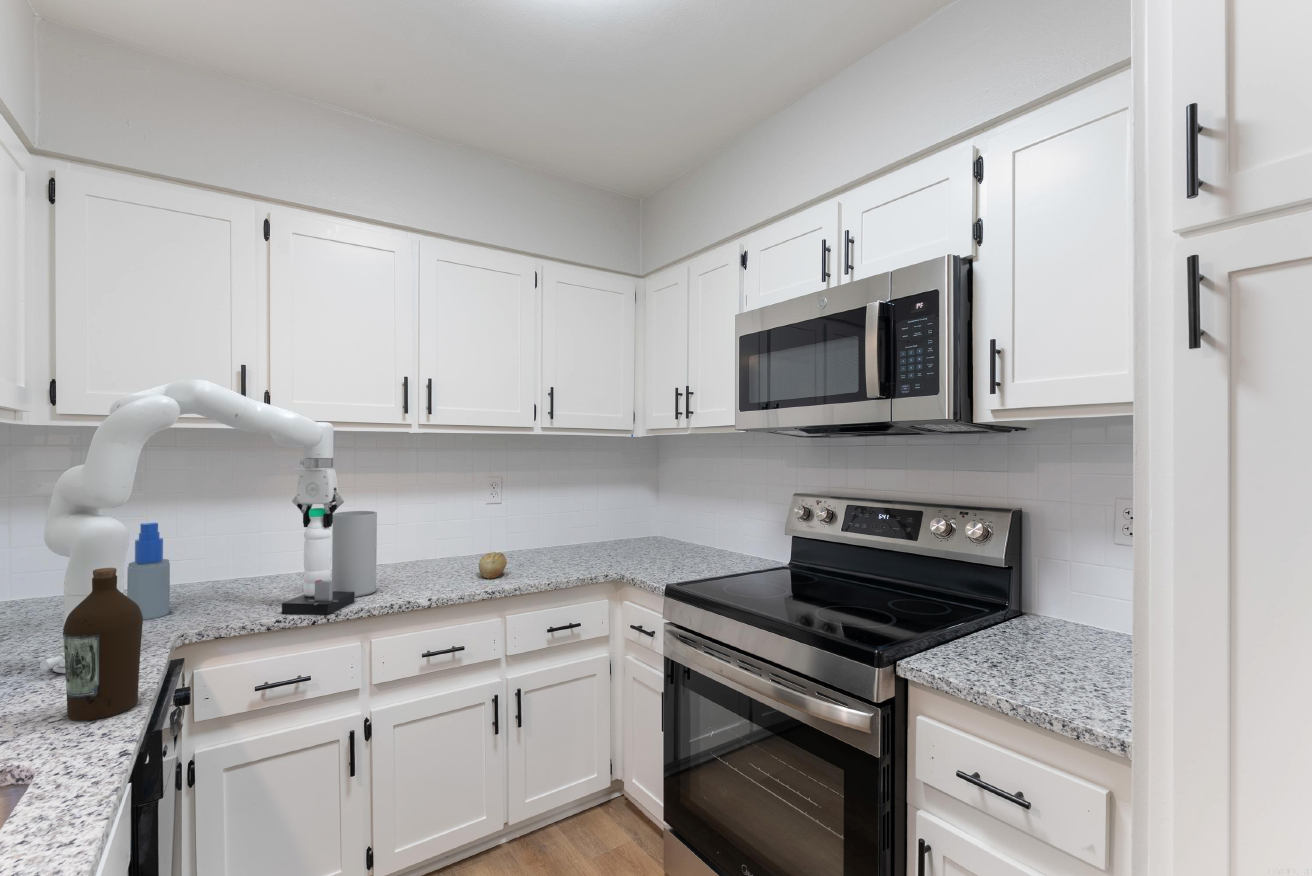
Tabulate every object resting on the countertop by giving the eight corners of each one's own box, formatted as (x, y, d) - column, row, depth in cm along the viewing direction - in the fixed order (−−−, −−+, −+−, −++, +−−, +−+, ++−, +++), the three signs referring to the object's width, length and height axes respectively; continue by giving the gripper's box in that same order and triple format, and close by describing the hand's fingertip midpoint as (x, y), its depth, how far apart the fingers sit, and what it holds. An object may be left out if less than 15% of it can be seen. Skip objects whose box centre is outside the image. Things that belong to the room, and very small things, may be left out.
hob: (329, 616, 170) (329, 604, 170) (278, 615, 170) (278, 603, 170) (358, 601, 185) (358, 591, 185) (311, 600, 186) (312, 590, 186)
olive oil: (108, 695, 117) (109, 562, 117) (157, 699, 116) (158, 564, 116) (45, 720, 107) (46, 574, 107) (97, 725, 105) (99, 577, 105)
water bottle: (318, 597, 177) (320, 510, 177) (297, 596, 179) (298, 509, 179) (336, 592, 184) (337, 507, 184) (315, 590, 186) (316, 506, 186)
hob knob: (332, 600, 175) (332, 579, 175) (329, 601, 173) (329, 581, 173) (317, 599, 175) (318, 579, 175) (314, 601, 174) (314, 580, 174)
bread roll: (507, 570, 231) (507, 548, 231) (505, 579, 216) (505, 556, 216) (480, 571, 229) (481, 549, 229) (476, 580, 214) (477, 556, 214)
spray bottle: (120, 621, 163) (121, 525, 163) (135, 612, 172) (136, 521, 172) (162, 618, 167) (163, 524, 167) (174, 609, 175) (175, 520, 175)
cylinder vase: (383, 588, 201) (383, 511, 201) (364, 598, 189) (365, 515, 189) (344, 587, 202) (345, 510, 202) (323, 597, 189) (324, 515, 189)
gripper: (281, 464, 178) (280, 528, 178) (340, 465, 177) (339, 529, 177) (298, 463, 186) (297, 524, 186) (354, 464, 185) (353, 525, 185)
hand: (317, 526), depth 181 cm, fingers closed on water bottle, 5 cm apart
